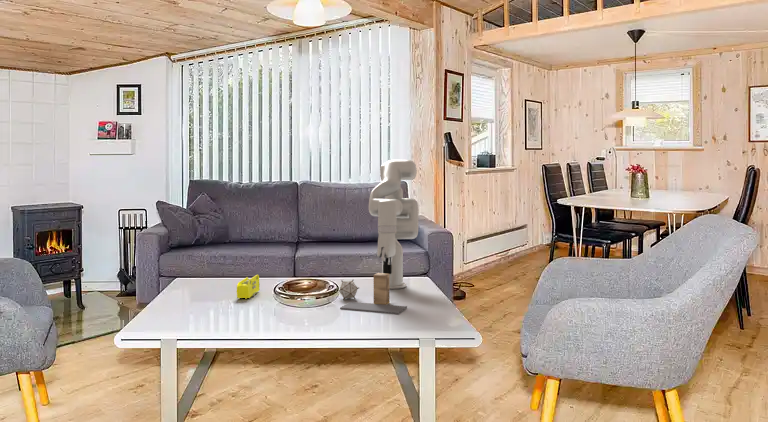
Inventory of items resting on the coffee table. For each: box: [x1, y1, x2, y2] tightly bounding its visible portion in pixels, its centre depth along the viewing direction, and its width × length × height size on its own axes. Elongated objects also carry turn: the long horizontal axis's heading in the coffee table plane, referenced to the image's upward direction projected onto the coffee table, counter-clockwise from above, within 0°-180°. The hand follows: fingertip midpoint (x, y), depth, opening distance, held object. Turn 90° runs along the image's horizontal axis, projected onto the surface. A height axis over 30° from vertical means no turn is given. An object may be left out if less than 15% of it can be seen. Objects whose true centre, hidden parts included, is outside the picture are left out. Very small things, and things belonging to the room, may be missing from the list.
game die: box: [338, 279, 360, 301], centre depth 247 cm, size 9×8×10 cm
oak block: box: [373, 272, 390, 305], centre depth 238 cm, size 5×5×12 cm
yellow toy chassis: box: [236, 274, 260, 300], centre depth 254 cm, size 16×6×8 cm, turn 176°
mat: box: [339, 301, 408, 315], centre depth 231 cm, size 10×24×1 cm, turn 70°
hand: (387, 273), depth 244 cm, fingers closed
